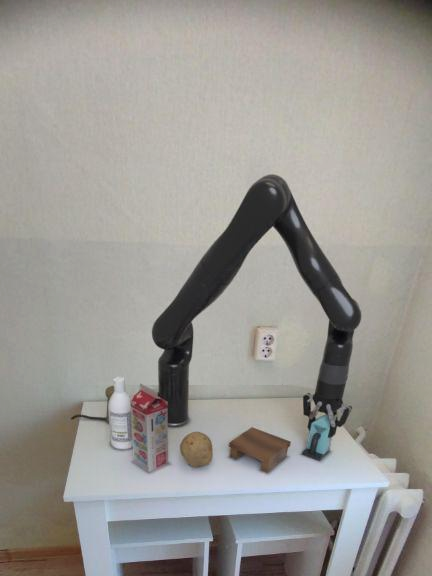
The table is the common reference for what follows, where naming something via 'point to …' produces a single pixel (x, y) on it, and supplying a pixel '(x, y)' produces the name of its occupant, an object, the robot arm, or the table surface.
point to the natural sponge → (196, 449)
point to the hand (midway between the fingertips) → (320, 433)
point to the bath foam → (120, 416)
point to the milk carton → (149, 429)
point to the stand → (260, 447)
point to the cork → (109, 393)
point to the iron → (319, 438)
